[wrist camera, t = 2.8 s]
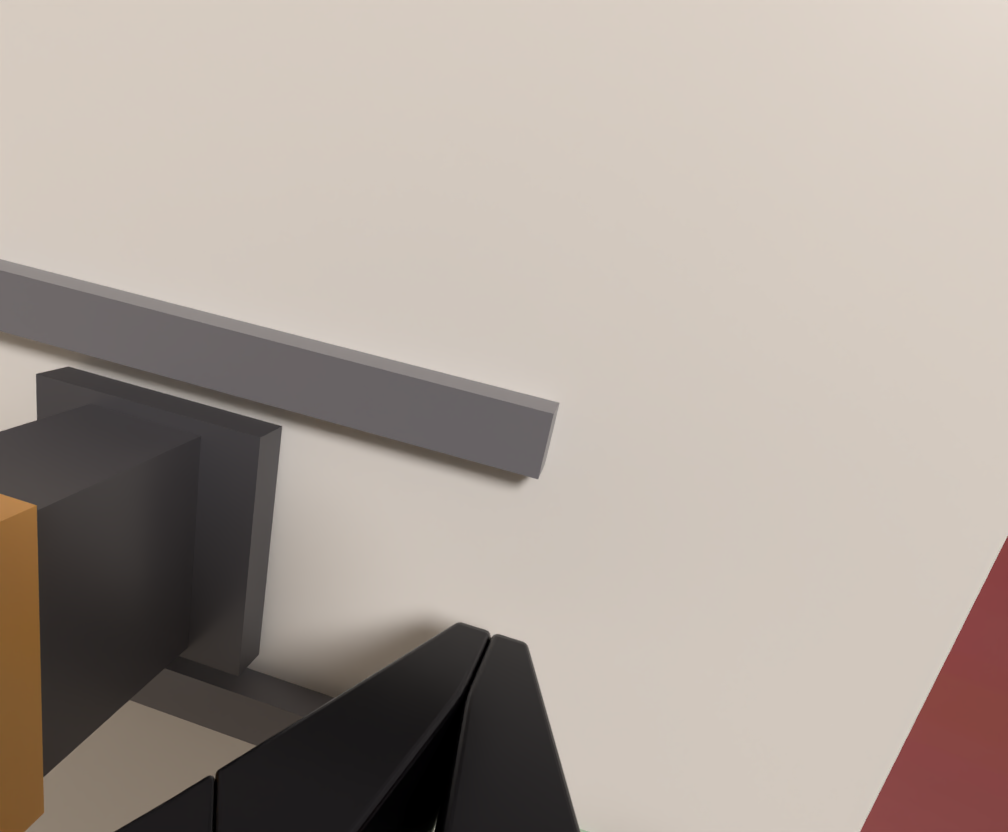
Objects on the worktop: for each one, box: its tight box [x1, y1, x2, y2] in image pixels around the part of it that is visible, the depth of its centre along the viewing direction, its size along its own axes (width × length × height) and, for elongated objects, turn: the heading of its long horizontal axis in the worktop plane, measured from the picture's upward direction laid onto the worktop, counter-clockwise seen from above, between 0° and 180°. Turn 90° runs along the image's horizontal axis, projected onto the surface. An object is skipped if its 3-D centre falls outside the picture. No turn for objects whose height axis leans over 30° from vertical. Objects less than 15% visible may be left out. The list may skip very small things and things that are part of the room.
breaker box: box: [0, 0, 1008, 832], centre depth 10 cm, size 20×16×4 cm
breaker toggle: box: [0, 366, 282, 832], centre depth 7 cm, size 3×4×4 cm
